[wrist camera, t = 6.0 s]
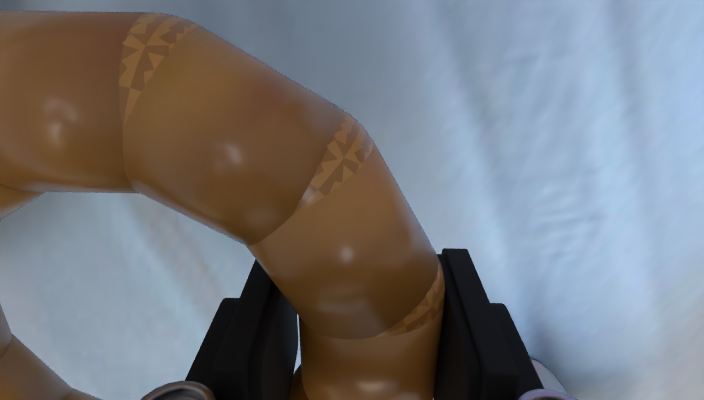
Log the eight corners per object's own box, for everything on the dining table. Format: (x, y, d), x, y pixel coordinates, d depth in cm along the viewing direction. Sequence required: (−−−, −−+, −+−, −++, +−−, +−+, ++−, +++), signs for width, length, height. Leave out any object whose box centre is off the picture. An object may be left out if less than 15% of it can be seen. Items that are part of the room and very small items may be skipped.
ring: (-226, 5, 8) (-504, 8, 6) (456, 13, 8) (503, 20, 6) (-7, 460, 14) (-97, 573, 11) (411, 469, 14) (423, 586, 11)
